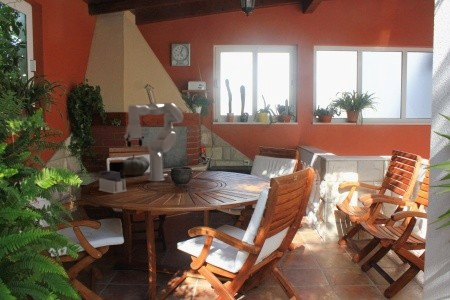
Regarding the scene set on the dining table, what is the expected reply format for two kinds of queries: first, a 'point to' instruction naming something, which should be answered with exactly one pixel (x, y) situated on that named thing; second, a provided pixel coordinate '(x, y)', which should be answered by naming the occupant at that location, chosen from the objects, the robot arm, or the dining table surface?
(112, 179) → the grey bracket
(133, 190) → the dining table surface
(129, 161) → the gourd
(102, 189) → the stand
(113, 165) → the coffee jar
